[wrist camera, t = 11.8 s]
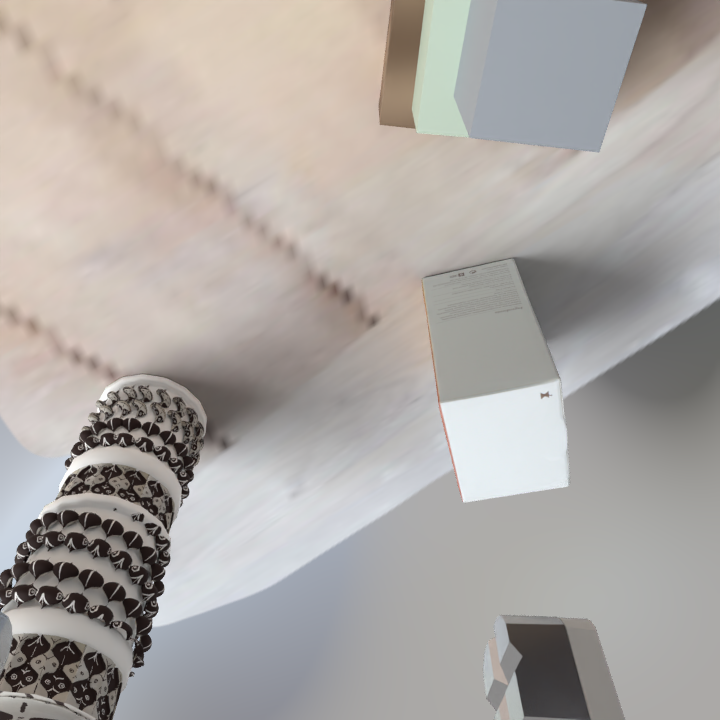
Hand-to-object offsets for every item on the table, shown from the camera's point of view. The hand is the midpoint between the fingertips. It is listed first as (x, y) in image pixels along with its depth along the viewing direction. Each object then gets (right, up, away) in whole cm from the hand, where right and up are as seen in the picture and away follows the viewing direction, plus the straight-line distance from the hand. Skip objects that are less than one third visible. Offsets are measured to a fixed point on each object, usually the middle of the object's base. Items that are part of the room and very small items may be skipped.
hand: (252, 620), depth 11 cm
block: (+9, +18, +17) cm, 26 cm away
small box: (+10, +7, +34) cm, 37 cm away
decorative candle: (-14, 0, +40) cm, 43 cm away
